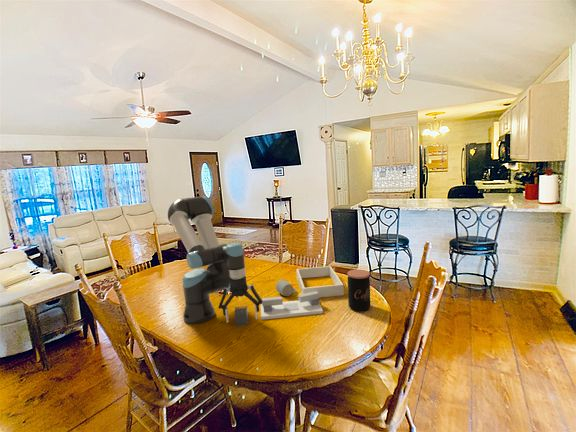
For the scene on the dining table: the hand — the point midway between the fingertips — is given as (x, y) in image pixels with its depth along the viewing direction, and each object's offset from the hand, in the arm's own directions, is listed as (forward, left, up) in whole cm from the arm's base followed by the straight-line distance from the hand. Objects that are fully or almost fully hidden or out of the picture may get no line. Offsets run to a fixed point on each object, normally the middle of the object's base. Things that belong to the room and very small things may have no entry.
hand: (242, 319), depth 149 cm
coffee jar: (+58, +4, -2) cm, 58 cm away
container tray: (+43, +35, -2) cm, 56 cm away
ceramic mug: (+24, +29, -2) cm, 37 cm away
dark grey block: (0, 0, -2) cm, 2 cm away
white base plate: (+24, +8, -2) cm, 25 cm away
